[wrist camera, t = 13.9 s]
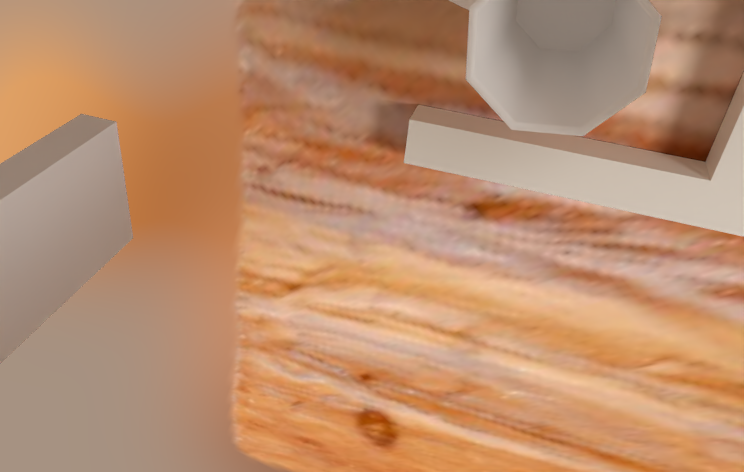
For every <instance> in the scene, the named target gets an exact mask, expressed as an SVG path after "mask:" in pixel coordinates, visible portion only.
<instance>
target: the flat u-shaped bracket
mask: <svg viewBox="0 0 744 472" xmlns="http://www.w3.org/2000/svg"><path fill="white" fill-rule="evenodd" d="M404 163H406V164H411V165H416V166H420V167H425V168H430V169H434V170H439V171H443V172H448V173H453V174H457V175H462V176H467V177H471V178H476V179H480V180H485V181H490V182H494V183H499V184H504V185H508V186H513V187H517V188H522V189H527V190H531V191H536V192H540V193H545V194H550V195H554V196H559V197H564V198H568V199H573V200H577V201H582V202H587V203H591V204H596V205H601V206H605V207H610V208H614V209H619V210H624V211H628V212H633V213H638V214H642V215H647V216H651V217H656V218H661V219H665V220H670V221H675V222H679V223H684V224H688V225H693V226H698V227H702V228H707V229H711V230H716V231H721V232H725V233H730V234H735V235H739V236H744V72H743V75H742V77H741V79H740V82H739V84H738V86H737V89H736V91H735V93H734V96H733V98H732V101H731V103H730V105H729V108H728V110H727V112H726V115H725V117H724V119H723V122H722V124H721V126H720V129H719V131H718V133H717V136H716V138H715V140H714V143H713V145H712V147H711V150H710V152H709V154H708V157H707V159H706V161H705V162H704V161H699V160H694V159H689V158H684V157H679V156H674V155H669V154H664V153H659V152H654V151H649V150H644V149H639V148H634V147H629V146H624V145H618V144H613V143H608V142H603V141H598V140H593V139H588V138H583V137H578V136H573V135H563V134H552V133H541V132H530V131H519V130H511V129H510V128H509V127H508V125H507V124H506V123H505V122H503V121H498V120H493V119H488V118H483V117H478V116H473V115H468V114H463V113H458V112H453V111H448V110H443V109H438V108H433V107H428V106H423V105H418V106H417V107H416V109H415V111H414V113H413V114H412V116H411V118H410V119H409V127H408V135H407V142H406V150H405V157H404Z"/></svg>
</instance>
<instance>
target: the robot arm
mask: <svg viewBox="0 0 744 472" xmlns="http://www.w3.org/2000/svg"><path fill="white" fill-rule="evenodd" d="M131 239H133V234H132V227H131V220H130V213H129V206H128V199H127V192H126V185H125V178H124V171H123V164H122V157H121V151H120V143H119V136H118V130H117V122H116V121H111V120H107V119H102V118H98V117H93V116H89V115H84V114H80V115H79V116H77V117H76V118H74V119H72V120H71V121H69V122H67V123H66V124H64V125H63V126H61V127H59V128H58V129H56V130H54V131H53V132H51V133H50V134H48V135H46V136H45V137H43V138H41V139H40V140H38V141H37V142H35V143H33V144H32V145H30V146H29V147H27V148H25V149H24V150H22V151H20V152H19V153H17V154H16V155H14V156H12V157H11V158H9V159H7V160H6V161H4V162H3V163H1V164H0V364H1V363H2V362H3V361H4V360H5V359H6V358H7V357H8V356H9V355H10V354H11V353H12V352H13V351H14V350H15V349H16V348H17V347H19V346H20V345H21V344H22V343H23V342H24V341H25V340H26V339H27V338H28V337H29V336H30V335H31V334H32V333H33V332H34V331H35V330H37V329H38V328H39V327H40V326H41V325H42V324H43V323H44V322H45V321H46V320H47V319H48V318H49V317H50V316H51V315H52V314H53V313H54V312H56V311H57V309H59V308H60V307H61V306H62V305H63V304H64V303H65V302H66V301H67V300H68V299H69V298H70V297H71V296H72V295H73V294H75V293H76V292H77V291H78V290H79V289H80V288H81V287H82V286H83V285H84V284H85V283H86V282H87V281H88V280H89V279H90V278H91V277H92V276H94V275H95V274H96V273H97V272H98V270H100V269H101V268H102V267H103V266H104V265H105V264H106V263H107V262H108V261H109V260H110V259H111V258H113V257H114V256H115V255H116V254H117V253H118V252H119V251H120V250H121V249H122V248H123V247H124V246H125V245H126V244H127V243H128V242H129V241H130V240H131Z"/></svg>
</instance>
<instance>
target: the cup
mask: <svg viewBox="0 0 744 472" xmlns="http://www.w3.org/2000/svg"><path fill="white" fill-rule="evenodd" d="M449 1H451V2H453V3H455V4H457V5H459V6H461V7H463V8H465V9H467V10H469V25H468V44H467V63H466V80H467V81H468V83H469V84H470V85H471V86H472V87H473V88H474V89H475V90H476V91H477V92H478V94H479V95H480V96H481V97H482V98H483V99H484V100H485V101H486V102H487V103H488V105H489V106H490V107H491V108H492V109H493V110H494V111H495V112H496V113H497V114H498V116H499V117H500V118H501V119H502V120H503V121H504V122H505V123H506V124H507V125H508V127H509V128H510V129H511V130H519V131H530V132H541V133H552V134H563V135H574V136H584V135H585V134H587V133H588V132H590V131H591V130H593V129H594V128H595V127H597V126H598V125H600V124H601V123H603V122H604V121H606V120H607V119H608V118H610V117H611V116H613V115H614V114H616V113H617V112H618V111H620V110H621V109H623V108H624V107H626V106H627V105H629V104H630V103H631V102H633V101H634V100H636V99H637V98H639V97H640V96H641V95H643V94H644V93H646V89H647V84H648V79H649V74H650V70H651V65H652V60H653V55H654V50H655V46H656V41H657V36H658V31H659V27H660V22H661V17H662V16H661V15H660V14H659V12H658V11H657V10H656V9H655V7H654V6H653V5H652V4H651V2H650V1H649V0H449Z"/></svg>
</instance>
